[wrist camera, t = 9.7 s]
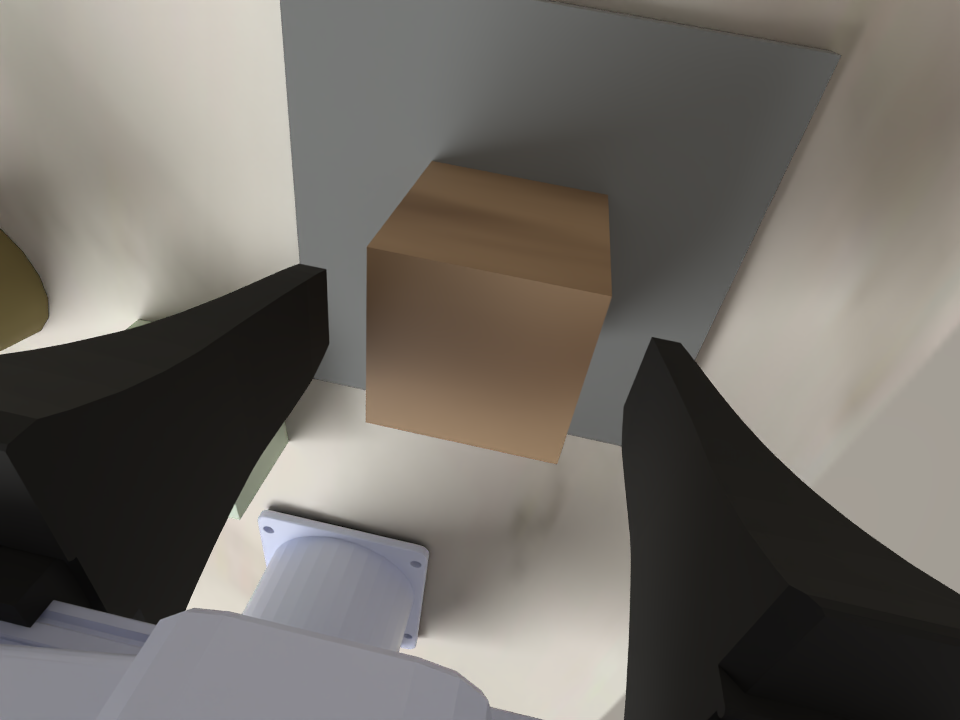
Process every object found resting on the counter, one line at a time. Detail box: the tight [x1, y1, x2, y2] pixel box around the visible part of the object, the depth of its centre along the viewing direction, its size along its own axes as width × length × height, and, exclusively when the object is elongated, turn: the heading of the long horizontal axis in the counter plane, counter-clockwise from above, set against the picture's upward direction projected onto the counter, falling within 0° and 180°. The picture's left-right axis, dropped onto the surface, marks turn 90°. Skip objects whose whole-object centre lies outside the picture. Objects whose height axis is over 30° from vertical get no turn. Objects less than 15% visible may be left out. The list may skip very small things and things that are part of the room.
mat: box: [280, 0, 841, 446], centre depth 15 cm, size 12×12×1 cm
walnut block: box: [366, 161, 612, 464], centre depth 13 cm, size 4×4×5 cm
